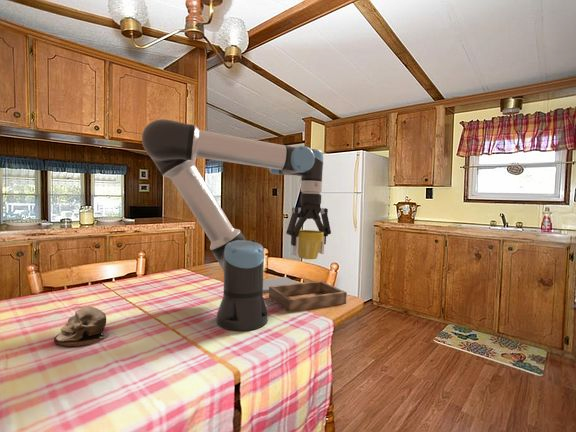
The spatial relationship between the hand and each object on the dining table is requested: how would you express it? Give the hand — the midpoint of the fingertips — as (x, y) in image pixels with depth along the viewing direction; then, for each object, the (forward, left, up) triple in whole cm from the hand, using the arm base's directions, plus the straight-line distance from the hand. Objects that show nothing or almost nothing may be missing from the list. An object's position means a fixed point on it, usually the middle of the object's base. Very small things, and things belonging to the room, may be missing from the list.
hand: (308, 254), depth 113 cm
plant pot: (0, 0, -2) cm, 2 cm away
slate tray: (-3, +21, -17) cm, 27 cm away
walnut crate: (0, 0, -17) cm, 17 cm away
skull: (-69, -3, -18) cm, 71 cm away
